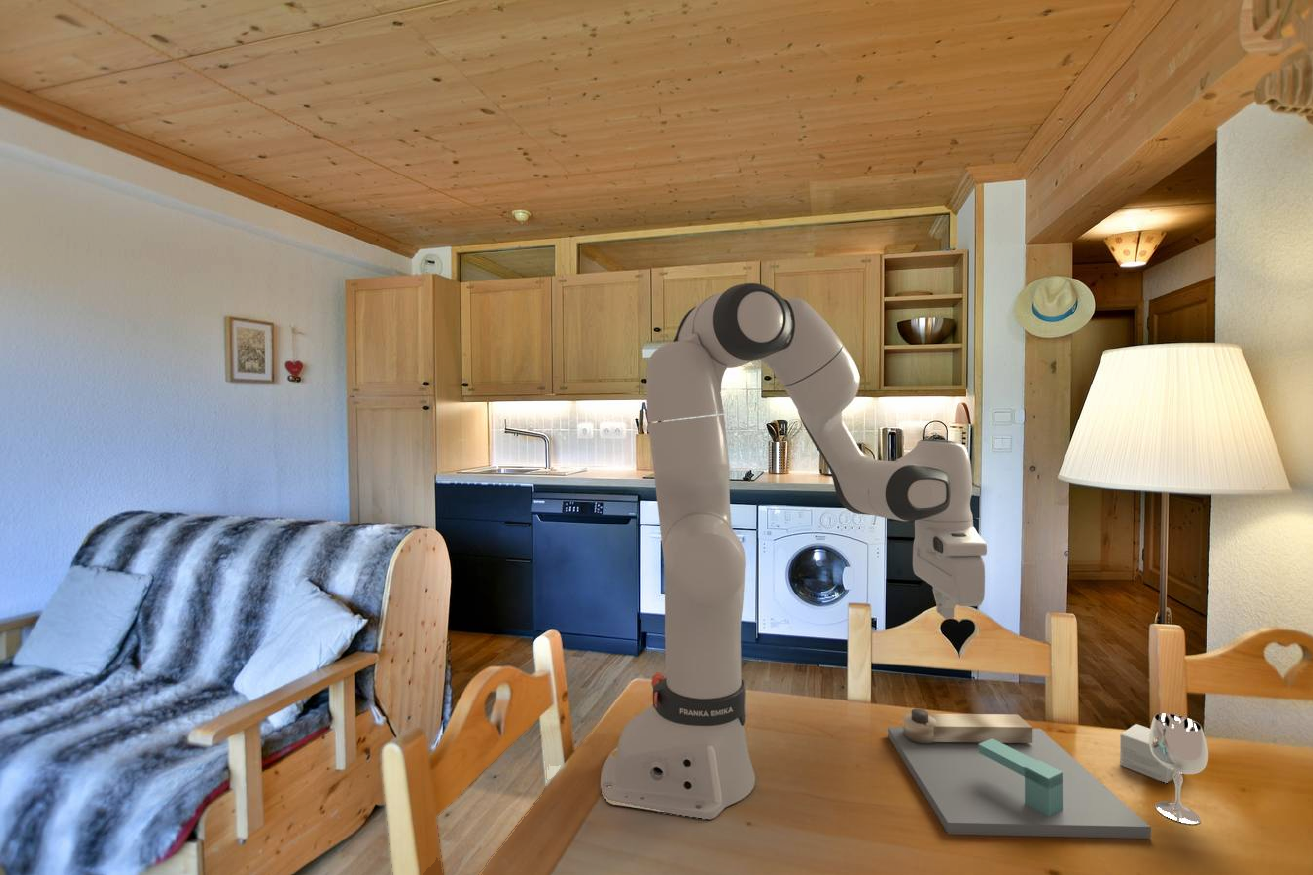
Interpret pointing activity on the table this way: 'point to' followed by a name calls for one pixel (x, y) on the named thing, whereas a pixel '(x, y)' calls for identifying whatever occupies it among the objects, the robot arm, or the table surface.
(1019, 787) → the base board
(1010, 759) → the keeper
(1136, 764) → the small box
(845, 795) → the table surface
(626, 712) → the table surface
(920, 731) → the link
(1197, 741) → the wineglass
